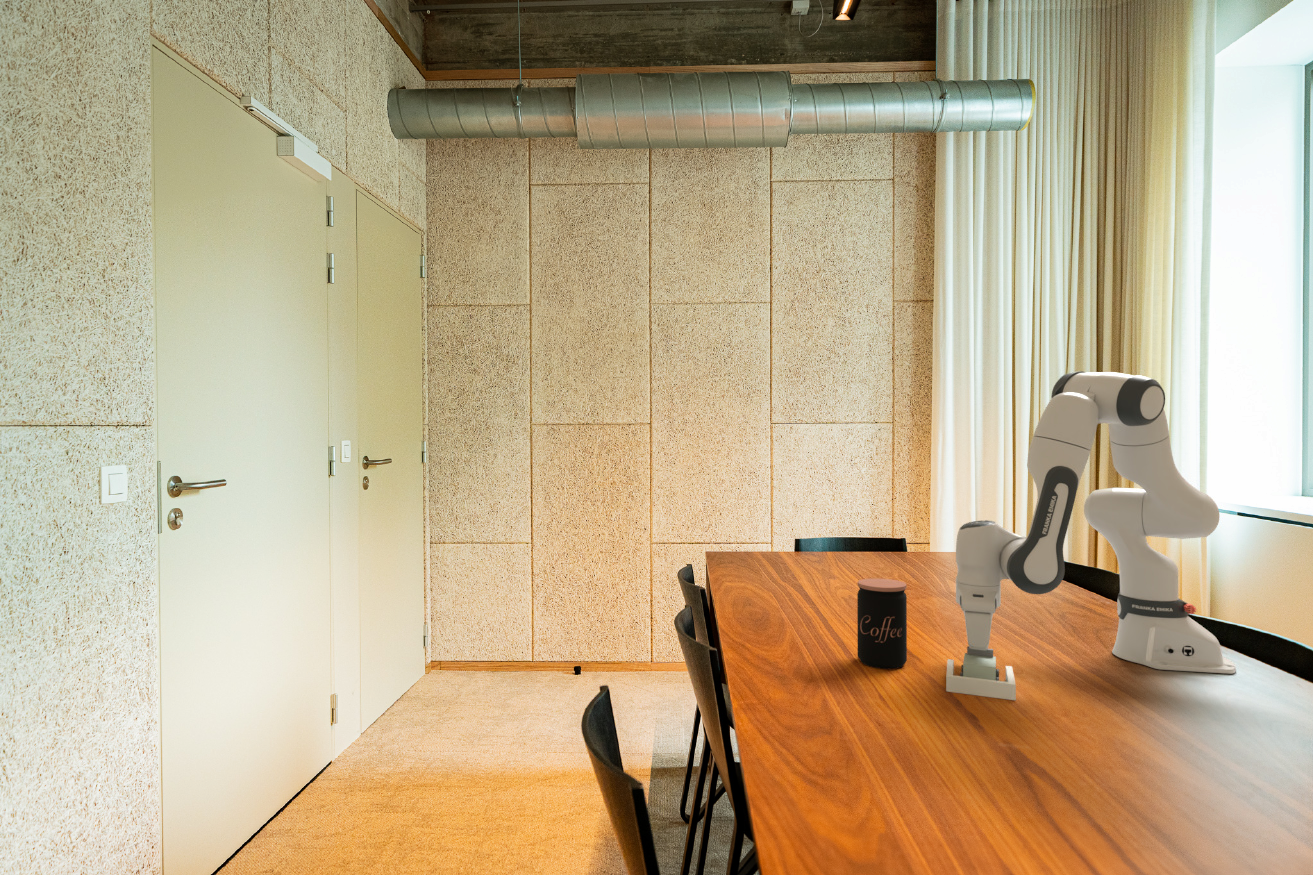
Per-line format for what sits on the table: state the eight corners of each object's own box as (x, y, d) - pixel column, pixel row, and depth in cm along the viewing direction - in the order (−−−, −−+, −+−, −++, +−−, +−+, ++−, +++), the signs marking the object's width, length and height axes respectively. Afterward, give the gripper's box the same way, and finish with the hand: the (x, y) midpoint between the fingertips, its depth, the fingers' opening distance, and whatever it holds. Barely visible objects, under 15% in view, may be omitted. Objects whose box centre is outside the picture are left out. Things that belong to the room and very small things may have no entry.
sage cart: (999, 678, 148) (998, 649, 148) (999, 690, 141) (998, 660, 141) (961, 673, 152) (961, 645, 152) (960, 685, 144) (959, 655, 144)
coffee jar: (852, 665, 157) (852, 584, 157) (862, 652, 166) (862, 576, 167) (903, 672, 152) (902, 589, 152) (910, 659, 161) (910, 580, 162)
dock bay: (1012, 680, 147) (1012, 666, 147) (1015, 700, 136) (1015, 684, 136) (947, 673, 152) (947, 659, 152) (946, 691, 141) (946, 676, 141)
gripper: (962, 585, 163) (962, 645, 163) (961, 604, 145) (961, 671, 144) (992, 588, 161) (993, 648, 160) (995, 607, 142) (995, 675, 142)
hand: (978, 659), depth 152 cm, fingers closed
